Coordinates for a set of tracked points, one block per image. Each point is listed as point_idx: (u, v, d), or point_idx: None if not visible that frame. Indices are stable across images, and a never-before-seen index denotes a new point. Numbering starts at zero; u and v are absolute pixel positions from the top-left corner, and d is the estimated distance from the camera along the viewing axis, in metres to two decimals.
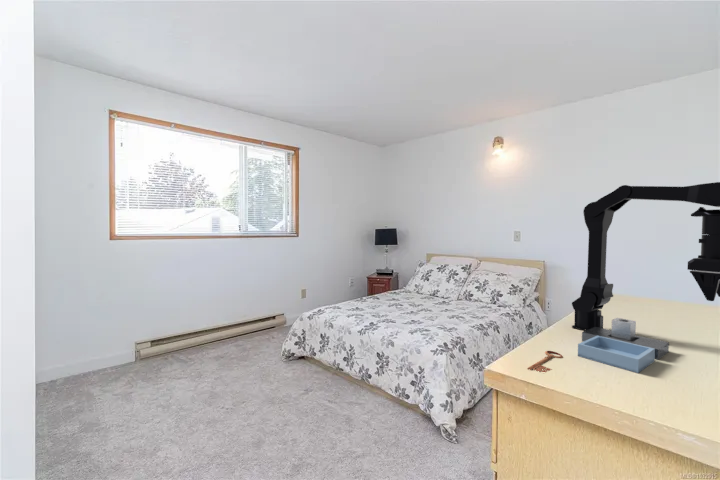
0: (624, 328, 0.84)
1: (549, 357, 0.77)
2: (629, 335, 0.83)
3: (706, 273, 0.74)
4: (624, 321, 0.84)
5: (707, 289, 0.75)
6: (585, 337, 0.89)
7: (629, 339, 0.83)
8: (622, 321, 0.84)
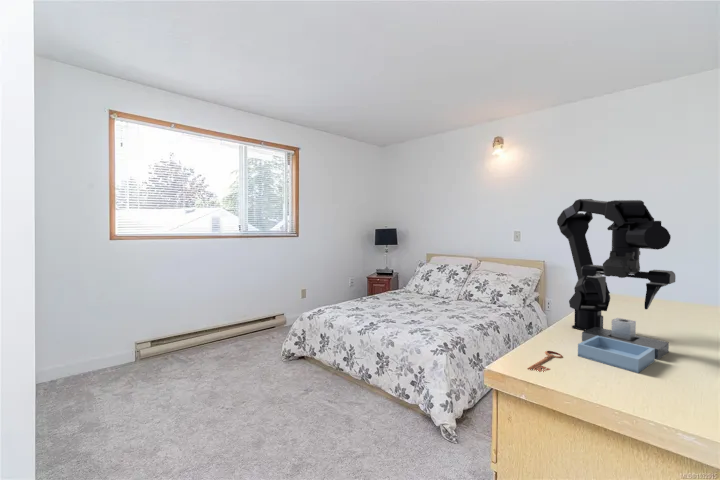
0: (624, 328, 0.84)
1: (549, 357, 0.77)
2: (629, 335, 0.83)
3: None
4: (624, 321, 0.84)
5: None
6: (585, 337, 0.89)
7: (629, 339, 0.83)
8: (622, 321, 0.84)
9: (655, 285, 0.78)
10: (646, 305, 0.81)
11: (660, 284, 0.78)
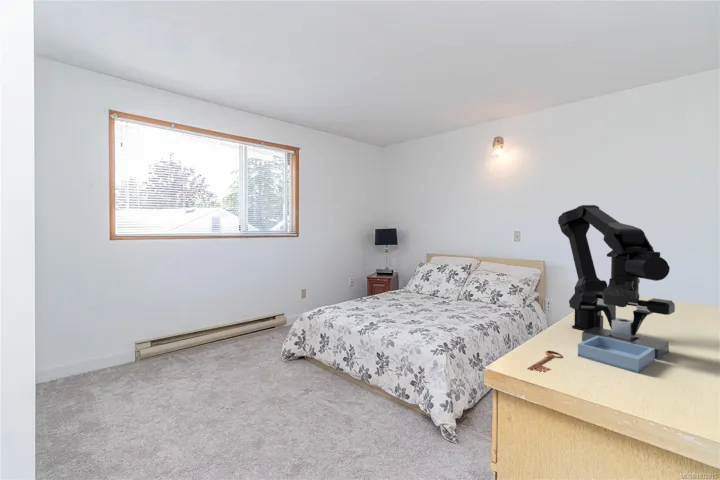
0: (624, 328, 0.84)
1: (549, 357, 0.77)
2: (629, 335, 0.83)
3: None
4: (624, 321, 0.84)
5: None
6: (585, 337, 0.89)
7: (629, 339, 0.83)
8: (622, 321, 0.84)
9: (642, 313, 0.80)
10: (633, 332, 0.83)
11: (646, 312, 0.80)
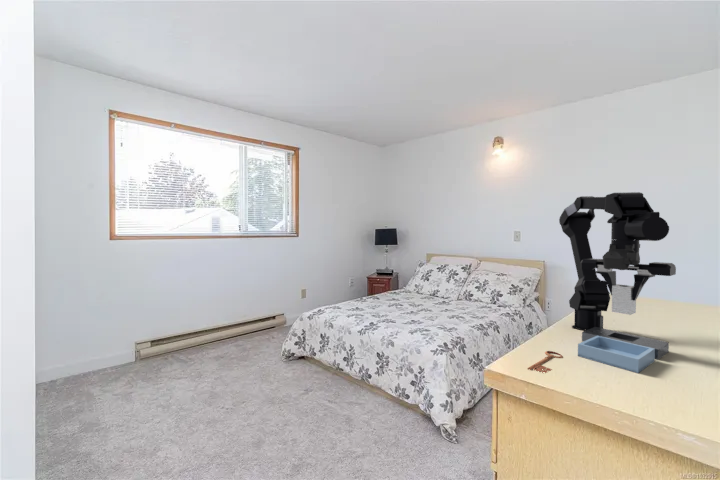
0: (625, 293, 0.83)
1: (549, 357, 0.77)
2: (630, 300, 0.82)
3: None
4: (625, 286, 0.83)
5: None
6: (585, 337, 0.89)
7: (630, 304, 0.82)
8: (622, 286, 0.84)
9: (642, 276, 0.79)
10: (634, 296, 0.82)
11: (647, 275, 0.79)
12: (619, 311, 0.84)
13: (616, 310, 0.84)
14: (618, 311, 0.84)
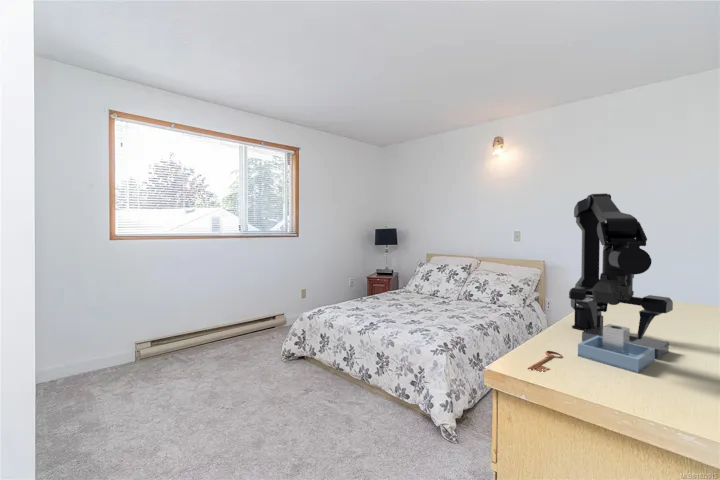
0: (617, 336, 0.75)
1: (550, 357, 0.77)
2: (622, 344, 0.74)
3: None
4: (616, 328, 0.76)
5: None
6: (585, 337, 0.89)
7: (622, 348, 0.74)
8: (614, 328, 0.76)
9: (649, 314, 0.70)
10: (640, 335, 0.73)
11: (655, 313, 0.69)
12: None
13: None
14: None
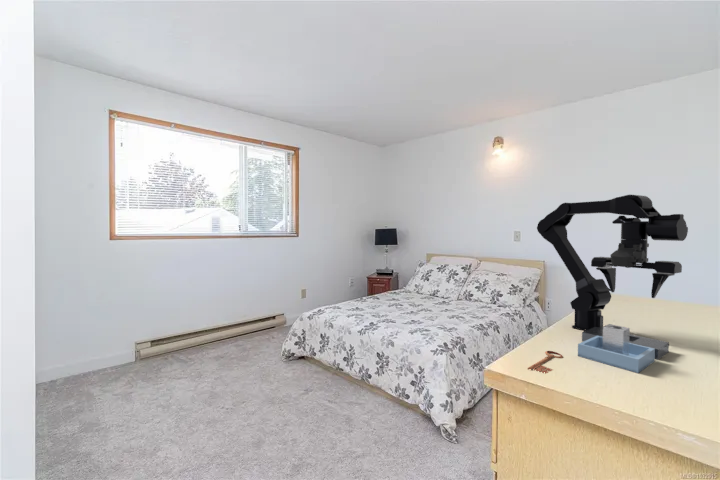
0: (617, 336, 0.75)
1: (550, 357, 0.77)
2: (622, 344, 0.74)
3: None
4: (616, 328, 0.76)
5: None
6: (585, 337, 0.89)
7: (622, 348, 0.74)
8: (614, 328, 0.76)
9: (661, 275, 0.83)
10: (653, 294, 0.86)
11: (666, 274, 0.82)
12: None
13: None
14: None
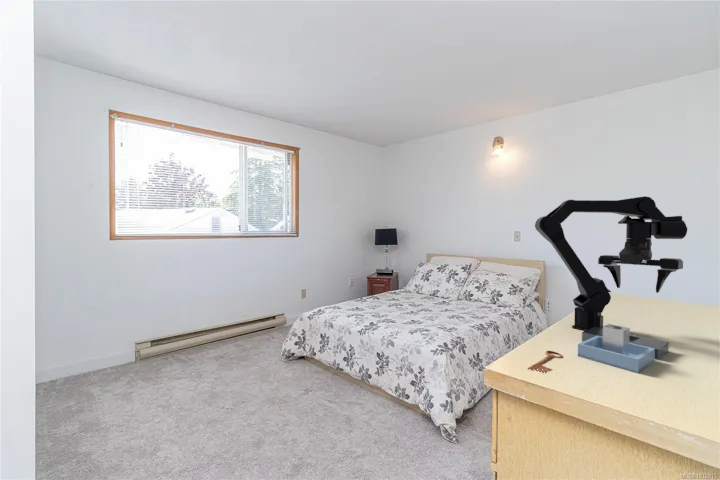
0: (617, 336, 0.75)
1: (550, 357, 0.77)
2: (622, 344, 0.74)
3: None
4: (616, 328, 0.76)
5: None
6: (585, 337, 0.89)
7: (622, 348, 0.74)
8: (614, 328, 0.76)
9: (665, 271, 0.90)
10: (657, 289, 0.93)
11: (670, 270, 0.89)
12: None
13: None
14: None
